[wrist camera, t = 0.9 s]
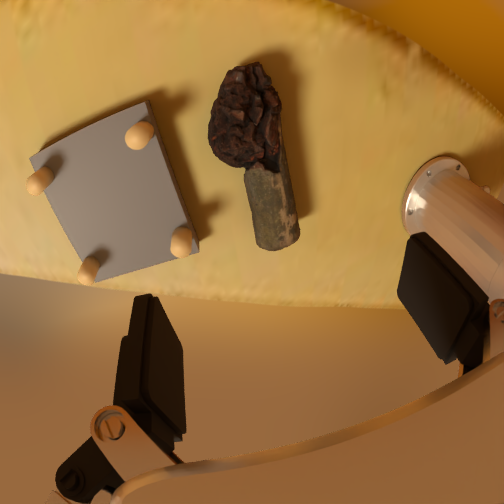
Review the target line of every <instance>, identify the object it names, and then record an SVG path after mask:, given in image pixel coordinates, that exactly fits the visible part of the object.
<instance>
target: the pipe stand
mask: <svg viewBox="0 0 504 504" xmlns="http://www.w3.org/2000/svg"><path fill="white" fill-rule="evenodd" d="M29 159H30V161H31V164H32V166H33V168H34V171H35V173H34V174H32V175H31V176H30V177H29V178H28V179H27V181H26V188H27V190H28V192H29V193H30V194H31V195H33V196H38V195H40V194H41V193H42V192H43V191H44V192H45V195H46V197H47V199H48V201H49V203H50V205H51V207H52V209H53V211H54V213H55V215H56V216H57V218H58V220H59V222H60V224H61V226H62V228H63V230H64V231H65V233H66V235H67V237H68V239H69V240H70V242H71V244H72V246H73V247H74V249H75V251H76V252H77V254H78V256H79V257H80V259H81V261H82V262H83V263H82V265H81V267H80V269H79V271H78V274H77V278H78V280H79V282H80V283H82V284H84V285H92V284H93V283H94V281H95V283H96V282H99V281H103V280H106V279H109V278H113V277H116V276H119V275H123V274H126V273H130V272H133V271H136V270H140V269H143V268H147V267H150V266H153V265H157V264H160V263H164V262H167V261H171V260H174V259H177V258H184V257H187V256H188V255H191V254H195V253H198V252H199V240H198V238H197V235H196V232H195V230H194V227H193V225H192V222H191V219H190V217H189V214H188V211H187V209H186V206H185V203H184V201H183V198H182V195H181V192H180V190H179V187H178V184H177V181H176V179H175V176H174V173H173V170H172V167H171V165H170V162H169V159H168V156H167V153H166V150H165V147H164V144H163V142H162V139H161V136H160V133H159V130H158V127H157V124H156V121H155V118H154V115H153V112H152V108H151V105H150V102H149V100H147V101H144V102H142V103H139V104H137V105H134V106H132V107H129V108H127V109H124V110H122V111H119V112H117V113H115V114H112V115H110V116H108V117H106V118H103V119H101V120H99V121H97V122H95V123H93V124H90V125H88V126H86V127H84V128H82V129H80V130H78V131H76V132H74V133H72V134H70V135H68V136H67V137H65V138H63V139H61V140H59V141H57V142H55V143H54V144H52V145H50V146H48V147H47V148H45V149H43V150H41V151H40V152H38V153H36V154H35V155H33V156H32V157H30V158H29Z"/></svg>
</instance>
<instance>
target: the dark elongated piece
mask: <svg viewBox="0 0 504 504" xmlns="http://www.w3.org/2000/svg"><path fill="white" fill-rule="evenodd" d="M270 84H272V83H271V78H270V77H269V76H268V75H266V73H265V72H264V70H263V67H262V64H260V63H259V62H255V63H252V64H248V65H247V66H236V67H234V69H232V70H229V71H228V72H227V74H226V76H225V78H224V80H223V82H222V84H221V86H220V89H219V93H218V98H217V99H216V100H215V101H214V103H213V107H212V110H211V119H210V122H209V125H208V140H209V145H210V146H211V148H212V151H213V153H214V154H215V156H216V157H218V158H219V160H221V161H223V162H225V163H226V164H228V165H229V166H232V167H236V168H241V167H244V168H245V169H246V171H245V174H244V182H245V186H246V192H247V196H248V201H249V205H250V208H251V211H252V219H253V226H254V232H255V238H256V243H257V245H258V246H259V247H260V248H262V249H265V250H268V251H277V250H281V249H283V248H285V247H288V246H290V245H291V244H293V243H295V242H296V241H297V240H298V239H299V237H300V228H299V223H298V217H297V212H296V207H295V200H294V195H293V191H292V185H291V180H290V175H289V169H288V164H287V159H286V153H285V148H284V143H283V137H282V130H281V118H280V112H281V109H282V104H281V101H280V99H279V96H278V92H277V91H275V88H274V87H273V86H271V85H270Z"/></svg>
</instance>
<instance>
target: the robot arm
mask: <svg viewBox="0 0 504 504" xmlns="http://www.w3.org/2000/svg"><path fill="white" fill-rule="evenodd" d="M489 193H490V189H489V187H488V186H486V185H485V186H482V187H479V186H477V185H476V184H474V183H473V182H471V181H470V177H469V174H468V171H467V169H466V168H465V166H464V165H463V164H462V163H461V162H459V161H457V160H456V159H454V158H451V157H446V156H442V157H437V158H435V159H432V160H430V161H429V162H428V163H426V164H425V165H423V166H422V167H421V168H420V169H419V170H418V172H417V173H416V174H415V176H414V177H413V178H412V180H411V182H410V184H409V186H408V188H407V190H406V193H405V196H404V200H403V204H402V220H403V224H404V227H405V229H406V231H407V232H408V233H409V234H410V235H411V236H410V239H408V241H407V245H406V251H405V256H404V261H403V266H402V271H401V275H400V280H399V284H398V288H397V295H398V298H399V299H400V301H401V302H402V304H403V305H404V306H405V308H406V309H407V311H408V312H409V314H410V315H411V316H412V318H413V319H414V321H415V322H416V324H417V325H418V327H419V328H420V330H421V331H422V333H423V334H424V336H425V337H426V339H427V341H428V342H429V344H430V345H431V347H432V348H433V350H434V351H435V353H436V355H437V356H438V358H440V359H443V361H444V363H445V364H448V363H450V362H452V361H454V360H456V358H458V360H459V370H458V378H457V379H456V380H454V381H452V382H451V383H448V384H447V385H445V386H443V387H441V388H439V389H437V390H435V391H433V392H431V393H429V394H427V395H425V396H423V397H421V398H419V399H417V400H415V401H413V402H410V403H408V404H406V405H404V406H402V407H399V408H397V409H394V410H392V411H390V412H387V413H385V414H383V415H380V416H378V417H375V418H373V419H370V420H367V421H365V422H362V423H359V424H356V425H354V426H351V427H348V428H345V429H342V430H339V431H336V432H333V433H329V434H326V435H323V436H319V437H316V438H313V439H309V440H305V441H301V442H297V443H294V444H290V445H285V446H281V447H277V448H273V449H268V450H263V451H258V452H252V453H247V454H242V455H236V456H230V457H224V458H218V459H210V460H203V461H197V462H189V463H184V461H182V460H181V459H180V458H179V457H178V456H177V455H176V454H175V453H174V452H173V450H174V442H179V441H182V434H185V433H186V416H185V415H186V414H185V396H184V369H183V349H182V345H181V342H180V341H179V339H178V337H177V335H176V333H175V331H174V329H173V327H172V325H171V323H170V321H169V319H168V317H167V315H166V313H165V311H164V309H163V307H162V305H161V303H160V301H159V298H158V297H153V296H152V294H145V295H140V296H136V297H135V298H134V302H133V307H132V314H131V319H130V325H129V331H128V335H127V336H124V337H123V338H122V341H121V346H120V352H119V359H118V366H117V373H116V382H115V390H114V400H113V405H109V406H105V407H103V408H102V409H100V410H98V411H97V412H96V413H95V415H94V416H93V418H92V420H91V424H90V432H91V435H92V436H91V437H90V438H89V439H88V440H87V441H86V442H85V443H84V444H83V445H82V446H81V447H79V448H78V449H77V450H76V451H75V452H74V453H73V454H72V455H71V456H70V457H69V458H68V459H67V460H66V461H65V462H64V463H63V464H61V466H60V467H59V468H58V470H57V472H56V478H55V481H56V486H57V490H56V491H54V490H52V492H51V494H50V496H49V498H48V499H47V501H46V503H45V504H504V204H503V203H501V202H500V201H499V200H497V199H496V198H494V197H493V196H492V195H490V194H489ZM488 301H489V303H490V305H489V304H488Z"/></svg>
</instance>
